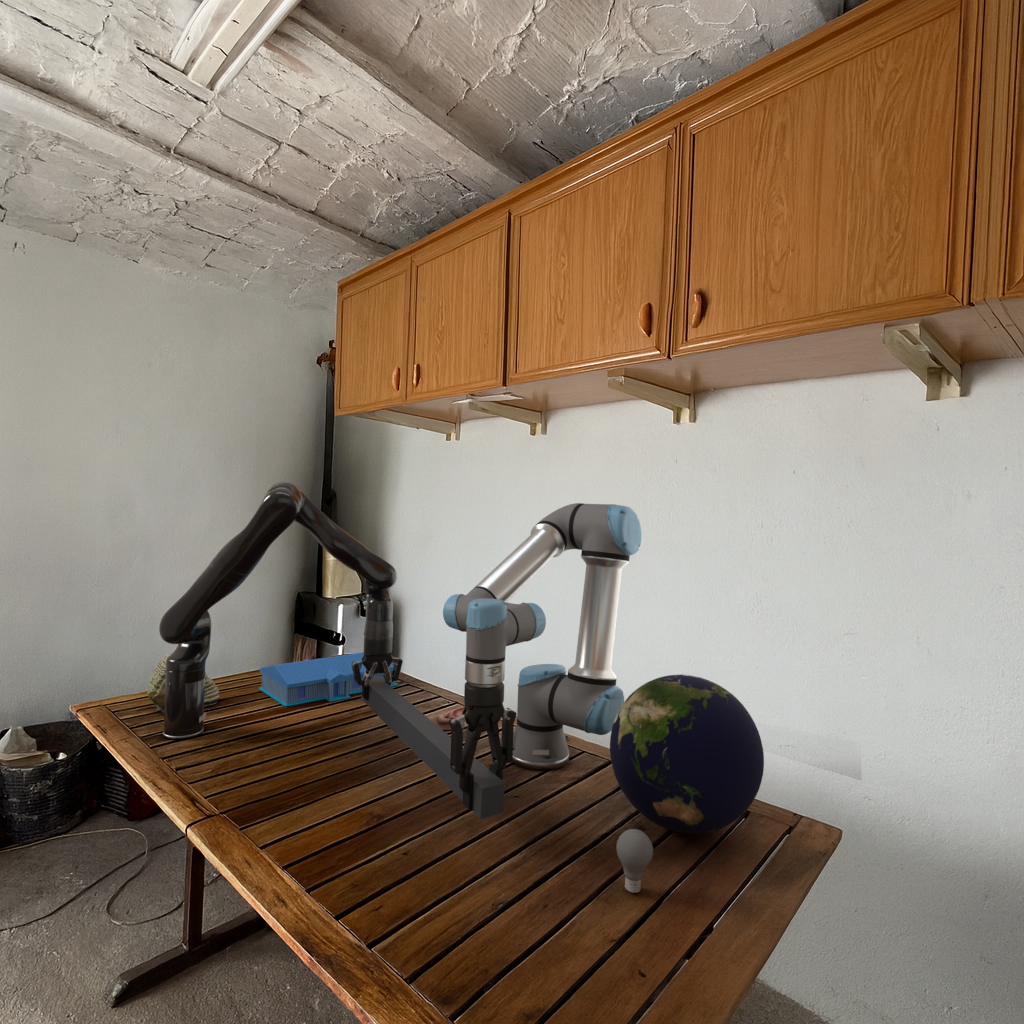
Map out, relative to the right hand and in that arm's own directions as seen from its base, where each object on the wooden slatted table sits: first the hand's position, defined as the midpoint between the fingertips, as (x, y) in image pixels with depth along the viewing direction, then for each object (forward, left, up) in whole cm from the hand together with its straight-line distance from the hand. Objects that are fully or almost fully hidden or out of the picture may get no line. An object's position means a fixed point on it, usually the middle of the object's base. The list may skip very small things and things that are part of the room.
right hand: (480, 803), depth 120 cm
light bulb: (0, +30, -7) cm, 31 cm away
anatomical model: (-46, -39, -7) cm, 61 cm away
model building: (-52, -88, -7) cm, 102 cm away
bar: (-15, -26, 0) cm, 30 cm away
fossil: (-14, -110, -7) cm, 111 cm away
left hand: (-30, -51, +3) cm, 59 cm away
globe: (-26, +32, -7) cm, 42 cm away
